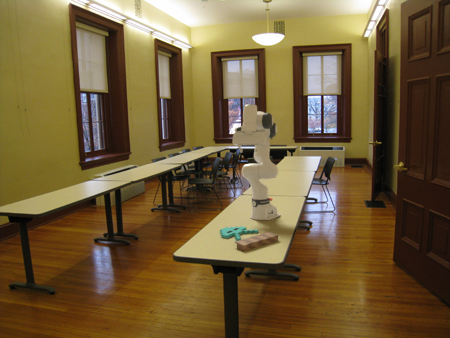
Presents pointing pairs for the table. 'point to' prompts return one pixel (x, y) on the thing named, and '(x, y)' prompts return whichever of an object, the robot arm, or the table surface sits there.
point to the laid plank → (256, 241)
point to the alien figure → (235, 232)
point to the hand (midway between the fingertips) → (248, 152)
